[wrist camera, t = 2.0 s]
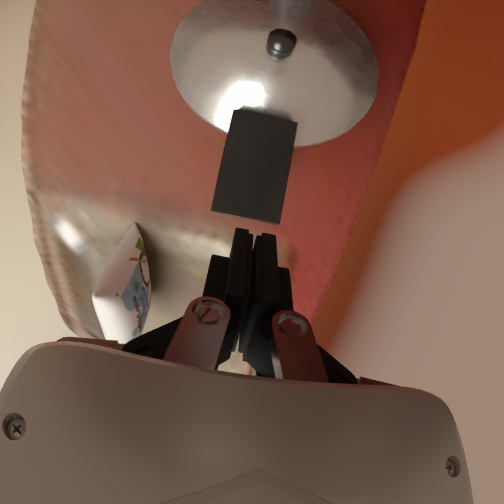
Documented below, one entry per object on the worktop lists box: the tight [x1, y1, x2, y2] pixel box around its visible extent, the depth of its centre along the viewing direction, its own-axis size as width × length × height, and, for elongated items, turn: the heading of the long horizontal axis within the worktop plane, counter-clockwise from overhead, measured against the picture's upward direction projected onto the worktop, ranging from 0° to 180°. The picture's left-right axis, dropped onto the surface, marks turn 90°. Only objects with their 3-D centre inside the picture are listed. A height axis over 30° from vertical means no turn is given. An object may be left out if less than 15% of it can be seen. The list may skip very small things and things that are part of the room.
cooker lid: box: [170, 0, 379, 225], centre depth 22 cm, size 26×19×3 cm
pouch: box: [92, 223, 151, 344], centre depth 51 cm, size 8×19×20 cm, turn 170°
